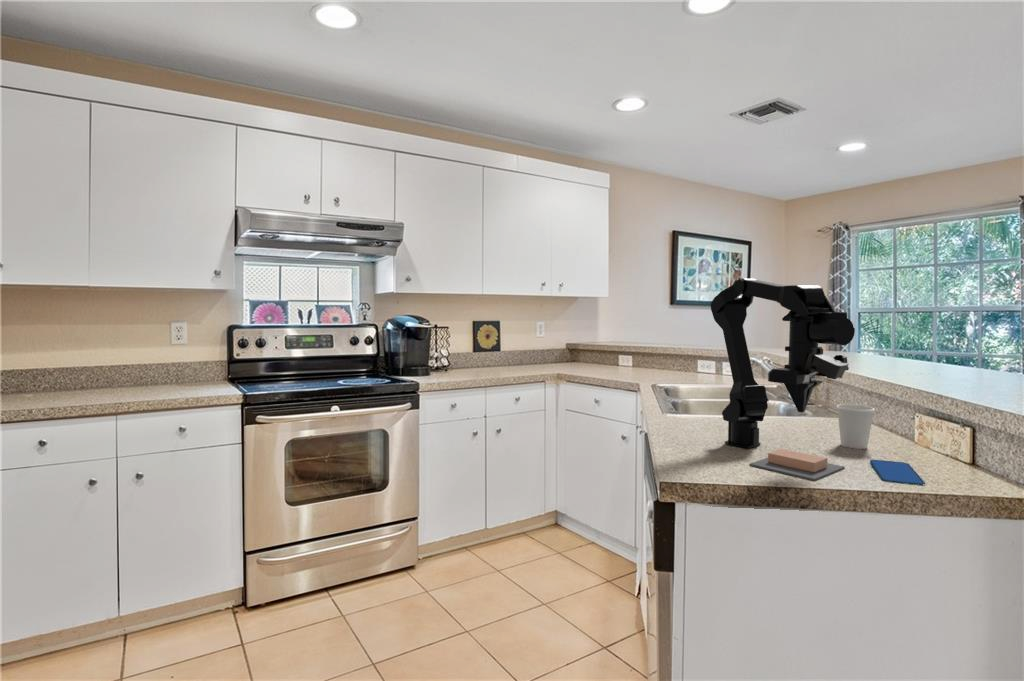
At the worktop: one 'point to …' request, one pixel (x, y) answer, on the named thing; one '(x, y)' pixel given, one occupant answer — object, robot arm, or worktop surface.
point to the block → (797, 460)
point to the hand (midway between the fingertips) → (801, 411)
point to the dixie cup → (855, 424)
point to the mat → (797, 470)
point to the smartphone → (896, 472)
